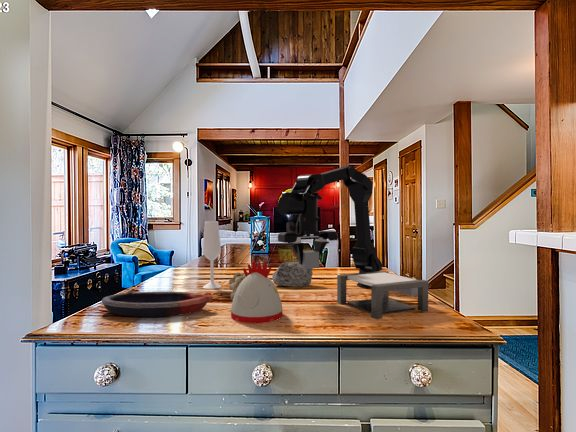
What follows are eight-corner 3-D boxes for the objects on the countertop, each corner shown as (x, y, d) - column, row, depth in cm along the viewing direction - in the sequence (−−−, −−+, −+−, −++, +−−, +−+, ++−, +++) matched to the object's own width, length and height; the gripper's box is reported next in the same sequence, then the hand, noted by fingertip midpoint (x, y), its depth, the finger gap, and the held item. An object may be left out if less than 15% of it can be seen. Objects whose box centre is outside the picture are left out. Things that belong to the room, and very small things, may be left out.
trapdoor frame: (384, 296, 127) (384, 270, 127) (428, 311, 110) (428, 281, 110) (337, 302, 120) (337, 275, 119) (375, 319, 102) (376, 286, 102)
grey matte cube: (311, 265, 127) (311, 250, 127) (319, 267, 122) (319, 251, 122) (297, 266, 125) (297, 251, 125) (304, 268, 120) (304, 252, 120)
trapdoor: (394, 286, 126) (394, 271, 125) (427, 296, 113) (427, 278, 113) (347, 292, 118) (347, 275, 118) (376, 302, 105) (376, 284, 105)
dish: (117, 304, 119) (116, 288, 119) (217, 305, 118) (217, 289, 118) (89, 319, 103) (88, 301, 103) (204, 320, 102) (204, 301, 102)
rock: (317, 282, 149) (312, 256, 149) (316, 286, 141) (311, 258, 141) (276, 288, 151) (272, 263, 151) (273, 293, 142) (268, 265, 143)
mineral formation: (229, 303, 119) (221, 290, 133) (270, 307, 123) (259, 293, 137) (233, 277, 118) (225, 267, 133) (275, 282, 123) (263, 271, 137)
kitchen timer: (270, 326, 97) (270, 265, 97) (221, 320, 102) (221, 263, 101) (289, 311, 110) (289, 258, 110) (245, 307, 115) (245, 256, 114)
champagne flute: (199, 286, 144) (198, 221, 143) (215, 284, 148) (214, 220, 147) (209, 289, 139) (208, 221, 138) (225, 286, 143) (224, 221, 142)
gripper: (321, 213, 134) (321, 258, 135) (271, 214, 127) (271, 262, 127) (338, 214, 124) (338, 263, 125) (285, 215, 116) (285, 267, 117)
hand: (308, 263), depth 124 cm, fingers closed on grey matte cube, 5 cm apart
